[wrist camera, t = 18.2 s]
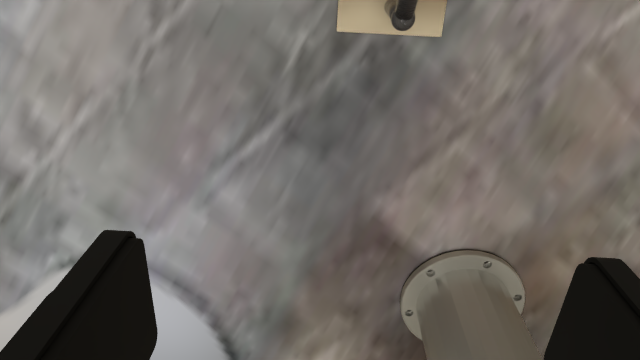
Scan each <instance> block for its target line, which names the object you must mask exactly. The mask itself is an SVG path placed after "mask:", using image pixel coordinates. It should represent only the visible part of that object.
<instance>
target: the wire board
mask: <svg viewBox="0 0 640 360" xmlns="http://www.w3.org/2000/svg"><path fill="white" fill-rule="evenodd" d="M387 1H388V0H338V16H337V32H355V33H374V34H394V35H413V36H432V37H441V35H442V28H443V22H444V16H445V9H446V3H447V0H418V2H417V6H416V10H415V22H414V24H413V26H412V27H411V28H410V29H408V30H406V31H399V30H396V29H395V28H394V27H393V25H392V23H391V19H390V17H389V16H388V15H387V13H386V12H385V9H384V6H385V3H386V2H387Z"/></svg>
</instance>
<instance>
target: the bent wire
mask: <svg viewBox="0 0 640 360" xmlns="http://www.w3.org/2000/svg"><path fill="white" fill-rule="evenodd" d="M417 2H418V0H388V1H387V2H386V3H385V6H384V9H385V12H386V13H387V15H388V16H389V17H390V19H391V23H392V25H393V27H394V28H395V29H396V30H399V31H406V30H408V29H410V28H411V27H412V26H413V24H414V22H415V10H416V6H417Z"/></svg>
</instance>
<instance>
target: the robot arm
mask: <svg viewBox="0 0 640 360" xmlns="http://www.w3.org/2000/svg"><path fill="white" fill-rule="evenodd" d="M524 304H525V289H524V287H523V284H522V281H521V279H520V278H519V276H518V274H517V272H516V271H515V270H514V269H513V268H512V267H511V265H510V264H508V263H507V262H505V261H504V260H503V259H501V258H499V257H497V256H495V255H492V254H489V253H485V252H481V251H472V250H463V251H454V252H449V253H445V254H442V255H439V256H437V257H434V258H432V259H430V260H429V261H427V262H425V263H424V264H422V265H421V266H420V267H418V268H417V269H416V270H415V271H414V272H413V273H412V274H411V275H410V277H409V278H408V279H407V281H406V283H405V285H404V287H403V288H402V292H401V296H400V308H401V314H402V317H403V320H404V322H405V325H406V326H407V327H408V329H409V330H410V332H412V333H413V334H414V335H415V336H416V337H417V338H419V339H420V340H422V341H423V345H424V349H425V354H426V359H427V360H543V359H542V357H541V355H540V353H539V351H538V349H537V347H536V345H535V343H534V341H533V339H532V337H531V335H530V333H529V331H528V329H527V327H526V325H525V323H524V321H523V319H522V317H521V313H522V311H523V308H524ZM156 341H157V326H156V319H155V313H154V306H153V300H152V293H151V287H150V280H149V274H148V267H147V261H146V254H145V248H144V243H143V240H142V239H138V238H136V236H135V234H134V233H133V232H132V231H116V230H105V231H103V232H102V233H101V234H100V235H99V236H98V237H97V238H96V240H95V241H94V242H93V243H92V245H91V246H90V247H89V248H88V249H87V251H86V252H85V253H84V254H83V255H82V257H81V258H80V259H79V260H78V261H77V263H76V264H75V265H74V266H73V267H72V269H71V270H70V271H69V272H68V274H67V275H66V276H65V277H64V279H63V280H62V281H61V282H60V283H59V284H58V286H57V287H56V288H55V289H54V291H52V292H51V293H50V294H49V295H48V296H47V297H46V298H45V299H44V300H43V301H42V303H41V304H40V305H39V306H38V307H37V309H36V310H35V311H34V312H33V313H32V315H31V316H30V317H29V318H28V319H27V321H26V322H25V323H24V324H23V325H22V327H21V328H20V329H19V330H18V331H17V333H16V334H15V335H14V336H13V337H12V339H11V340H10V341H9V342H8V343H7V345H6V346H5V347H4V348H3V349H2V351H1V352H0V360H149V359H150V357H151V355H152V353H153V350H154V348H155V345H156ZM544 360H640V279H639V278H638V277H637V276H636V275H635V273H634V272H633V271H632V270H631V269H630V268H629V267H628V266H627V265H626V264H625V263H624V262H623V261H622V260H620V259H615V258H597V257H591V258H588V259H587V260H586V261H585V262H584V264H583V263H582V264H579V265H578V266H577V268H576V270H575V273H574V275H573V278H572V281H571V283H570V286H569V289H568V292H567V294H566V297H565V300H564V303H563V305H562V308H561V311H560V313H559V316H558V319H557V322H556V324H555V327H554V330H553V332H552V335H551V338H550V341H549V343H548V346H547V349H546V352H545V355H544Z"/></svg>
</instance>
